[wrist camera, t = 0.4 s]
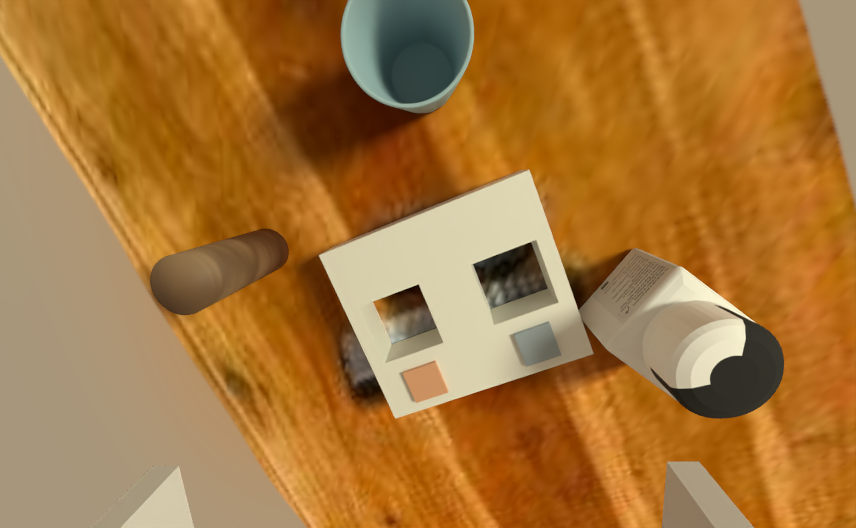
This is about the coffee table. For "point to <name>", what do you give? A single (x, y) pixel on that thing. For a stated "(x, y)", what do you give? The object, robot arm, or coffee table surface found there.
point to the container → (684, 337)
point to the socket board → (458, 296)
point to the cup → (407, 49)
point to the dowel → (216, 270)
